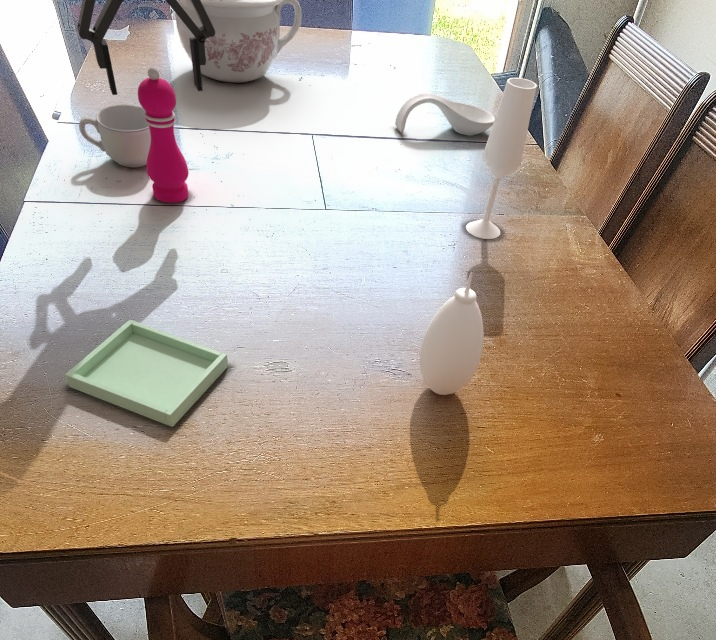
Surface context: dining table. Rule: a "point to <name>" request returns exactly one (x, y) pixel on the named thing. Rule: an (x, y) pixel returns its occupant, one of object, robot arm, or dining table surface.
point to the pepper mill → (163, 140)
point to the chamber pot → (239, 36)
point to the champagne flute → (505, 145)
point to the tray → (148, 372)
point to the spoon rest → (450, 114)
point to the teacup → (121, 134)
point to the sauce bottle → (453, 343)
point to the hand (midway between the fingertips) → (157, 90)
